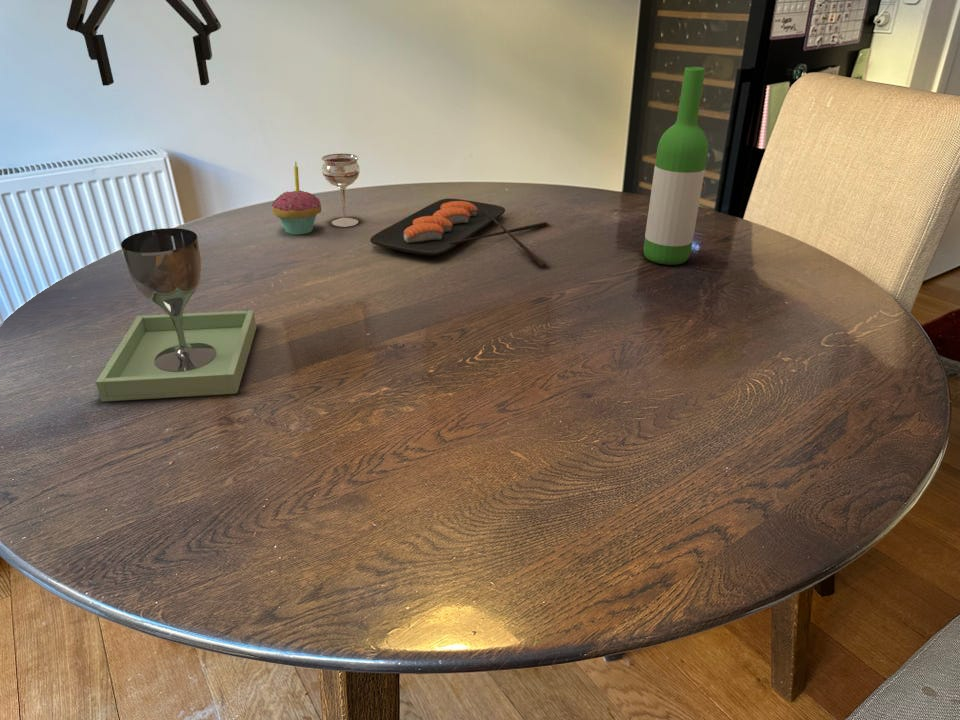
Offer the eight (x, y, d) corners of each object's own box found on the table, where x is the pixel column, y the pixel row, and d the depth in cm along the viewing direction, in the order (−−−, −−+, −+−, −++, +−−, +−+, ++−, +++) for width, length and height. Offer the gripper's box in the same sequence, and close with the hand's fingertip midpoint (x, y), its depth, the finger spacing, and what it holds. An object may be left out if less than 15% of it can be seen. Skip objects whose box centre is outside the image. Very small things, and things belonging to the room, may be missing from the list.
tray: (101, 401, 78) (95, 382, 77) (142, 333, 92) (137, 315, 91) (237, 393, 80) (233, 374, 78) (256, 327, 94) (253, 310, 93)
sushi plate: (445, 205, 142) (444, 187, 140) (586, 229, 131) (588, 209, 129) (363, 251, 119) (361, 229, 117) (526, 284, 108) (527, 261, 106)
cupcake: (283, 222, 131) (275, 157, 125) (328, 223, 131) (322, 158, 125) (269, 238, 124) (260, 170, 118) (317, 239, 124) (310, 171, 118)
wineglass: (339, 230, 128) (333, 164, 122) (319, 221, 132) (313, 157, 126) (370, 223, 132) (366, 158, 126) (350, 214, 136) (345, 151, 130)
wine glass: (233, 353, 87) (212, 237, 79) (177, 380, 81) (149, 258, 73) (192, 335, 90) (168, 223, 83) (136, 360, 85) (105, 242, 77)
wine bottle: (639, 263, 116) (665, 69, 101) (645, 247, 123) (670, 63, 108) (687, 269, 114) (721, 72, 99) (690, 253, 121) (723, 66, 106)
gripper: (10, -91, 88) (57, 88, 99) (216, -85, 91) (240, 87, 102) (34, -88, 95) (76, 80, 105) (225, -82, 98) (247, 80, 108)
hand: (157, 84), depth 104 cm, fingers open, 13 cm apart
